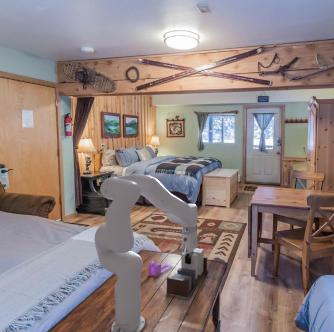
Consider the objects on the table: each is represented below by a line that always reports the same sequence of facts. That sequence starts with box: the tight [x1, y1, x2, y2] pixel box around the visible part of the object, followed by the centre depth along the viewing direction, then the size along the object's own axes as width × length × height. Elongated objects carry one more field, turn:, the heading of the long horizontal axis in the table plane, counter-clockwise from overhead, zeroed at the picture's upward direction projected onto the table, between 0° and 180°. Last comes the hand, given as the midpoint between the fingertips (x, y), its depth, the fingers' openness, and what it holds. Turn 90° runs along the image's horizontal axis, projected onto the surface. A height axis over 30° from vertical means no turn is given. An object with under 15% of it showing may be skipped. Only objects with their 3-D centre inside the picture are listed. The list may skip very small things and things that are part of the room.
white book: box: [180, 251, 197, 279], centre depth 140 cm, size 2×8×13 cm, turn 76°
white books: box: [194, 247, 205, 275], centre depth 148 cm, size 4×8×13 cm, turn 76°
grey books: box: [171, 267, 196, 291], centre depth 134 cm, size 10×9×7 cm
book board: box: [166, 255, 208, 298], centre depth 140 cm, size 26×11×9 cm, turn 166°
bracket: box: [148, 260, 172, 277], centre depth 151 cm, size 13×6×7 cm, turn 149°
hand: (189, 262), depth 140 cm, fingers closed on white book, 2 cm apart
